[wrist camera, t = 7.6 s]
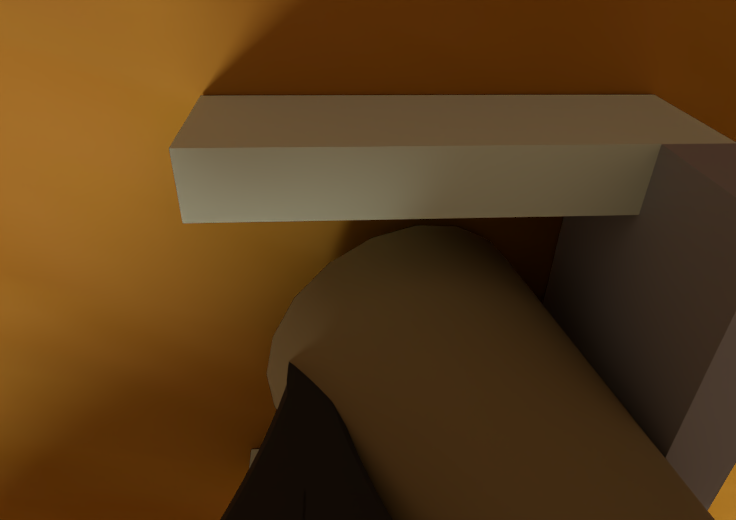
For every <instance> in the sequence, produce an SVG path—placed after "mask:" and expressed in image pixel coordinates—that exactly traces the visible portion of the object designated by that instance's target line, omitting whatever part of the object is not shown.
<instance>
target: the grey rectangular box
mask: <svg viewBox="0 0 736 520" xmlns="http://www.w3.org/2000/svg"><path fill="white" fill-rule="evenodd" d="M169 151H170V157H171V162H172V167H173V173H174V178H175V184H176V189H177V195H178V200H179V206H180V211H181V216H182V222H183V223H224V222H279V221H334V220H388V219H443V218H498V217H552V216H564V217H563V222H562V226H561V230H560V234H559V238H558V243H557V247H556V251H555V255H554V259H553V263H552V268H551V272H550V276H549V280H548V284H547V289H546V293H545V297H544V301H543V305H544V307H545V308H546V309H547V310H548V312H549V313H550V314H551V315H552V317H553V318H554V319H555V320H556V322H557V323H558V324H559V325H560V327H561V328H562V329H563V330H564V332H565V333H566V334H567V336H568V337H569V338H570V339H571V341H572V342H573V343H574V344H575V346H576V347H577V348H578V349H579V351H580V352H581V353H582V354H583V356H584V357H585V358H586V359H587V361H588V362H589V363H590V364H591V366H592V367H593V368H594V369H595V371H596V372H597V373H598V374H599V376H600V377H601V378H602V379H603V381H604V382H605V383H606V384H607V386H608V387H609V388H610V389H611V391H612V392H613V393H614V394H615V396H616V397H617V398H618V399H619V401H620V402H621V403H622V404H623V406H624V407H625V408H626V409H627V411H628V412H629V413H630V414H631V416H632V417H633V418H634V419H635V421H636V422H637V423H638V424H639V426H640V427H641V428H642V429H643V431H644V432H645V433H646V434H647V436H648V437H649V438H650V439H651V441H652V442H653V443H654V444H655V446H656V447H657V448H658V450H659V451H660V452H661V453H662V455H663V456H664V457H665V458H666V460H667V461H668V462H669V463H670V465H671V466H672V467H673V468H674V470H675V471H676V472H677V473H678V475H679V476H680V477H681V478H682V480H683V481H684V482H685V483H686V485H687V486H688V487H689V488H690V490H691V491H692V492H693V493H694V495H695V496H696V497H697V498H698V500H699V501H700V502H701V503H702V505H703V506H704V507H705V508H706V510H708V509H709V507H710V505H711V504H712V502H713V500H714V499H715V497H716V495H717V494H718V492H719V490H720V488H721V487H722V485H723V483H724V482H725V480H726V478H727V477H728V475H729V473H730V471H731V470H732V468H733V466H734V465H735V463H736V142H734V141H733V140H731V139H729V138H728V137H726V136H724V135H723V134H721V133H719V132H717V131H716V130H714V129H712V128H711V127H709V126H707V125H705V124H704V123H702V122H700V121H699V120H697V119H695V118H693V117H692V116H690V115H688V114H687V113H685V112H683V111H681V110H680V109H678V108H676V107H675V106H673V105H671V104H670V103H668V102H666V101H664V100H663V99H661V98H659V97H658V96H656V95H219V96H200V97H199V99H198V101H197V102H196V104H195V106H194V107H193V109H192V111H191V112H190V114H189V116H188V117H187V119H186V121H185V122H184V124H183V126H182V127H181V129H180V131H179V132H178V134H177V136H176V137H175V139H174V141H173V142H172V144H171V146H170V147H169ZM258 451H259V449H251V457H250V465H249V468H250V466H251V464H252V462H253V460H254V458H255V456H256V454H257V453H258Z"/></svg>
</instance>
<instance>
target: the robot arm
mask: <svg viewBox="0 0 736 520" xmlns="http://www.w3.org/2000/svg"><path fill="white" fill-rule="evenodd" d="M220 520H393V519H392V518H391V516H390V514H389V512H388V511H387V509H386V507H385V505H384V504H383V502H382V500H381V498H380V496H379V495H378V493H377V491H376V489H375V487H374V485H373V483H372V481H371V479H370V477H369V475H368V473H367V471H366V469H365V467H364V465H363V463H362V461H361V459H360V457H359V455H358V453H357V450H356V448H355V446H354V444H353V441H352V439H351V436H350V434H349V432H348V429H347V427H346V425H345V423H344V421H343V420H342V418H341V416H340V414H339V413H338V411H337V409H336V407H335V406H334V404H333V402H332V401H331V400H330V399H329V398H328V396H327V395H326V394H325V393H324V392H323V391H322V390H321V389H320V388H319V387H318V386H317V385H316V384H315V383H314V382H313V381H312V380H310V379H309V378H308V377H307V376H306V375H305V374H304V373H303V372H302V371H300V370H299V369H298V368H297V367H296V366H295V365H293V364H292V363H290V362H289V364H288V373H287V384H286V387H285V390H284V393H283V396H282V398H281V401H280V404H279V406H278V409H277V411H276V413H275V416H274V418H273V420H272V422H271V425H270V427H269V429H268V432H267V434H266V436H265V438H264V440H263V443H262V445H261V447H260V449H259V451H258V453H257V454H256V456H255V458H254V460H253V462H252V464H251V466H250V468H249V470H248V472H247V474H246V476H245V478H244V480H243V482H242V483H241V485H240V487H239V489H238V490H237V492H236V494H235V496H234V498H233V499H232V501H231V503H230V504H229V506H228V508H227V509H226V511H225V513H224V514H223V516H222V518H221V519H220Z"/></svg>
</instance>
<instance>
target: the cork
mask: <svg viewBox="0 0 736 520" xmlns="http://www.w3.org/2000/svg"><path fill="white" fill-rule="evenodd" d="M289 362H290V363H292V364H293V365H295V366H296V367H297V368H298V369H299V370H300V371H302V372H303V373H304V374H305V375H306V376H307V377H308V378H309V379H310V380H312V381H313V382H314V383H315V384H316V385H317V386H318V387H319V388H320V389H321V390H322V391H323V392H324V393H325V394H326V395H327V396H328V398H329V399H330V400H331V401H332V402H333V404H334V406H335V407H336V409H337V411H338V413H339V414H340V416H341V418H342V420H343V421H344V423H345V425H346V427H347V429H348V432H349V434H350V436H351V439H352V441H353V444H354V446H355V448H356V450H357V453H358V455H359V457H360V459H361V461H362V463H363V465H364V467H365V469H366V471H367V473H368V475H369V477H370V479H371V481H372V483H373V485H374V487H375V489H376V491H377V493H378V495H379V496H380V498H381V500H382V502H383V504H384V505H385V507H386V509H387V511H388V512H389V514H390V516H391V518H392V519H393V520H714V518H713V517H712V516H711V515H710V513H709V512H708V511H707V510H706V508H705V507H704V506H703V505H702V503H701V502H700V501H699V500H698V498H697V497H696V496H695V495H694V493H693V492H692V491H691V490H690V488H689V487H688V486H687V485H686V483H685V482H684V481H683V480H682V478H681V477H680V476H679V475H678V473H677V472H676V471H675V470H674V468H673V467H672V466H671V465H670V463H669V462H668V461H667V460H666V458H665V457H664V456H663V455H662V453H661V452H660V451H659V450H658V448H657V447H656V446H655V444H654V443H653V442H652V441H651V439H650V438H649V437H648V436H647V434H646V433H645V432H644V431H643V429H642V428H641V427H640V426H639V424H638V423H637V422H636V421H635V419H634V418H633V417H632V416H631V414H630V413H629V412H628V411H627V409H626V408H625V407H624V406H623V404H622V403H621V402H620V401H619V399H618V398H617V397H616V396H615V394H614V393H613V392H612V391H611V389H610V388H609V387H608V386H607V384H606V383H605V382H604V381H603V379H602V378H601V377H600V376H599V374H598V373H597V372H596V371H595V369H594V368H593V367H592V366H591V364H590V363H589V362H588V361H587V359H586V358H585V357H584V356H583V354H582V353H581V352H580V351H579V349H578V348H577V347H576V346H575V344H574V343H573V342H572V341H571V339H570V338H569V337H568V336H567V334H566V333H565V332H564V330H563V329H562V328H561V327H560V325H559V324H558V323H557V322H556V320H555V319H554V318H553V317H552V315H551V314H550V313H549V312H548V310H547V309H546V308H545V307H544V305H543V304H542V303H541V302H540V300H539V299H538V298H537V297H536V295H535V294H534V293H533V292H532V290H531V289H530V288H529V287H528V285H527V284H526V283H525V282H524V280H523V279H522V278H521V277H520V275H519V274H518V273H517V272H516V270H515V269H514V268H513V267H512V265H511V264H510V263H509V262H508V261H507V259H506V258H505V257H504V256H503V255H502V254H501V253H500V252H499V250H498V249H497V248H496V247H495V246H494V245H493V244H492V243H491V241H490V240H488V239H486V238H483V237H481V236H478V235H476V234H474V233H471V232H469V231H467V230H464V229H462V228H460V227H454V226H422V225H416V226H413V227H409V228H406V229H402V230H398V231H395V232H391V233H388V234H384V235H380V236H377V237H373V238H371V239H369V240H367V241H366V242H364V243H362V244H361V245H359V246H357V247H356V248H354V249H352V250H351V251H349V252H347V253H345V254H344V255H342V256H340V257H339V258H337V259H335V260H334V261H332V262H330V263H329V264H328V265H327V266H326V267H325V268H324V269H323V270H322V271H321V272H320V273H319V274H318V275H317V276H316V277H315V278H314V279H313V280H312V281H311V282H310V283H309V284H308V285H307V286H306V287H305V288H304V289H303V290H302V291H301V292H300V293H299V294H298V295H297V296H296V297H295V298H294V300H293V301H292V303H291V305H290V307H289V309H288V310H287V312H286V314H285V316H284V318H283V319H282V321H281V323H280V325H279V327H278V328H277V330H276V332H275V334H274V336H273V339H272V345H271V351H270V357H269V362H268V368H267V378H268V382H269V386H270V390H271V394H272V398H273V402H274V406H275V408H276V409H278V406H279V404H280V401H281V398H282V396H283V393H284V390H285V387H286V384H287V373H288V364H289Z"/></svg>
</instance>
